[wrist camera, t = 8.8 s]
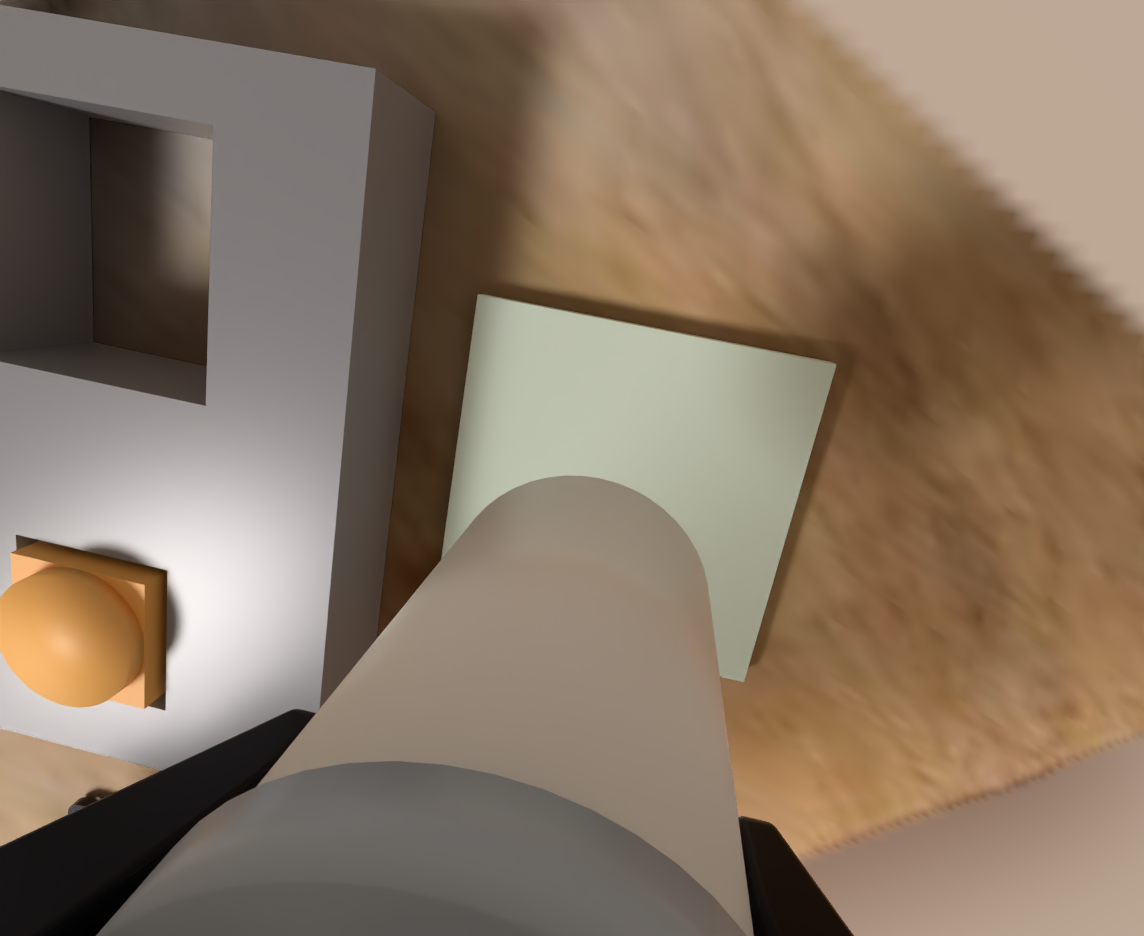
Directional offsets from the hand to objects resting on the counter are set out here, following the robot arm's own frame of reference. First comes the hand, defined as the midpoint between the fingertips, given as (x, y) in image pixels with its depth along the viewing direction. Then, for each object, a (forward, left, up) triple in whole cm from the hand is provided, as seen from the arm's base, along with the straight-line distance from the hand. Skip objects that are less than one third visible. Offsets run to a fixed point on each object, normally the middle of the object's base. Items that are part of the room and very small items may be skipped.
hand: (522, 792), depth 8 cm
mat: (0, 0, -13) cm, 13 cm away
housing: (-1, +14, -13) cm, 19 cm away
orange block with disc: (-6, +14, -12) cm, 20 cm away
